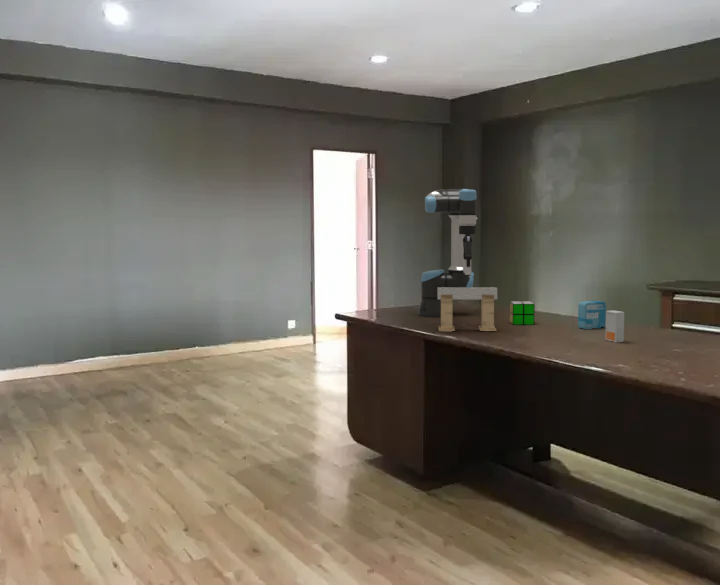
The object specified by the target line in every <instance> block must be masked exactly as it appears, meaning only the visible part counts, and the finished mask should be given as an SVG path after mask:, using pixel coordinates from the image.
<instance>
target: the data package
mask: <svg viewBox="0 0 720 585" xmlns="http://www.w3.org/2000/svg"><path fill="white" fill-rule="evenodd" d="M577 307H578V309H577V311H578V312H577V326H578V328H579V329H582V330H593V329H592V328H597V329H602V328H601V327H603V328H605V327H606V311H607V310H606V309H607V303H606V302H605V301H601V300H590V301H589V300H586V301H580V302H579V303H578V306H577Z"/></svg>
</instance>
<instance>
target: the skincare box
mask: <svg viewBox="0 0 720 585" xmlns="http://www.w3.org/2000/svg"><path fill="white" fill-rule="evenodd" d="M624 332H625V312H624V311H620V310H619V311H618V310H613V309H612V310H606V316H605V337H604V340H605V341H609V342H612V341H613V342H612V343H623V342H624V338H625V337H624V334H625V333H624Z"/></svg>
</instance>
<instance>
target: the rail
mask: <svg viewBox="0 0 720 585" xmlns="http://www.w3.org/2000/svg"><path fill="white" fill-rule="evenodd" d="M441 295H453V300H481V299H482V295H494V301H495V300H497V301H498V287H494V286H491V287H490V286H489V287H488V286H487V287H484V286H483V287H480V286H478V287H477V286H476V287H475V286H474V287H438V299H441Z"/></svg>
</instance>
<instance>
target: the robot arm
mask: <svg viewBox="0 0 720 585" xmlns="http://www.w3.org/2000/svg"><path fill="white" fill-rule="evenodd" d="M477 197H478V196H477V191H476V190H475V189H469V188H448V189H447V188H446V189H445V188H443V189H442V188H441V189H436V190H433V191H431V192H429V193H428V194H427V195H426V196H425V197H424V211H425V212H426V213H431V214H433V213H434V214H435V213H438V214H440V213H448V217H449V218H450V220H451V232H450V233H451V239H450V246H451V247H450V248H451V249H450V252H451V254H450V255H451V259H450V260H451V261H450V262H451V263H450V264H451V265H450V266H449V268H447V272H446V271H445V269H434V270H427V271H423V272H422V273H421V278H420V279H421V281H420V282H421V290H420V291H421V298H420V299H421V300H420V303H419V307H418V310H417V315H418V316H420V317H421V316H422V317H441V299H438V287H473V286H474V276H475V273H474V272H473V271H472V258H473V256H472V247H473V237H472V236H471V235H476V234H477V225H476V224H477V220H478V219H479V218H478V217H477V199H478V198H477Z"/></svg>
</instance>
